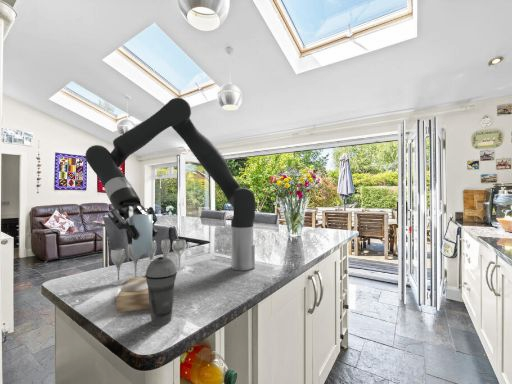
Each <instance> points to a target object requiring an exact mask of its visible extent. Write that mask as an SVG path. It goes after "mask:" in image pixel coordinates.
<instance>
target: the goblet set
mask: <svg viewBox="0 0 512 384" xmlns="http://www.w3.org/2000/svg"><path fill="white" fill-rule="evenodd" d="M165 239H167V247H166V255H165V257H166V258H168V255H169V252H170V249H172V252H174V253H175V254H176V255H177V257H178V267H176V271H179V272H180V271H184V270H186V267H184V266H181V256H182V254H183V253H184V252H185V251H186V250H187V242H186V239H185V238H178V239H177V238H176V239H174V240H173V241H172V244H171V240H170V238H162V239H161V243H160V247H161V251H162V253H163V254H164V245H165ZM156 252H157V241H156V240H155V239H152V252H151V253H148V254H147V256H148V258H149V261H150V262H149V263H151V262H152V261H153V260H154V257H155V255H156ZM126 255H128V257H129V258H130V260H131V261H132V262H133V264H134V276H132V277H130V278H129V279H133V278H144V277H143V276H141V275H140V276H137V265H138V262H139V261H140V260H141V257H142V256H143V254H140V255H137V254H132V242H129V243H128V245H127V251H126V247H114V248H112V249H110V259H111V261H112V263H113V264H114V266H115V267H116V271H117V280H114V281H112V282H111V285H113V286H114V285H115V286H116V285H122V284H124V283H125V284H126V282H127V280H124V279H120V270H121V267H122V265H123V263H124V262H125V259H126V257H127V256H126Z"/></svg>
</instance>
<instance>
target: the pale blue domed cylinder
mask: <svg viewBox="0 0 512 384" xmlns="http://www.w3.org/2000/svg"><path fill="white" fill-rule="evenodd" d="M133 225H134V226H135V228H136V229H137V231H138V233H139V237H138V239H137V240H133V238H131V243H132V254H137V255H140V254H142V255H148V253H151V252H152V240H153V237H152V229H153V215H152V214H136V215H133Z"/></svg>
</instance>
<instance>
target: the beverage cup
mask: <svg viewBox="0 0 512 384" xmlns="http://www.w3.org/2000/svg"><path fill="white" fill-rule="evenodd" d="M164 239H165V245H164V254H163V255H162V256H160V257H157V258H153V260H152V262H149V264H148V266H147V268H146V271H145V276H144V278H145V277H146V281H147V285H148V293H149V303H150V309H149V313H150V314H149V315H150V319H151V325H153V326H157V327H161V326H165V325H167V324H170V323H171V322H172V314H173V308H174V306H173V305H174V296H175V295H174V292H175V283H176V279H177V275H178V274H177V273H178V272H177V271H176V268H177V267H176V265H175V263H174V261H173V260H172V259H171V258H169V257H167V258H166V257H165V255H166V247H167V239H168V238H164Z"/></svg>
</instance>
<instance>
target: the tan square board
mask: <svg viewBox="0 0 512 384" xmlns="http://www.w3.org/2000/svg"><path fill="white" fill-rule="evenodd" d="M115 303H116V304H115V305H116V313H121V312H122V313H123V312H131V311H141V310H147V309H149V310H150V303H149V293H148V285H147V281H146V277H145V276H144V277H143V278H133V279H130V278H128V279H127V280H126V282H125V284H124V285H123V286H122V287H121V289H120V291H119V292H118V294H117V295H116V301H115Z"/></svg>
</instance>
